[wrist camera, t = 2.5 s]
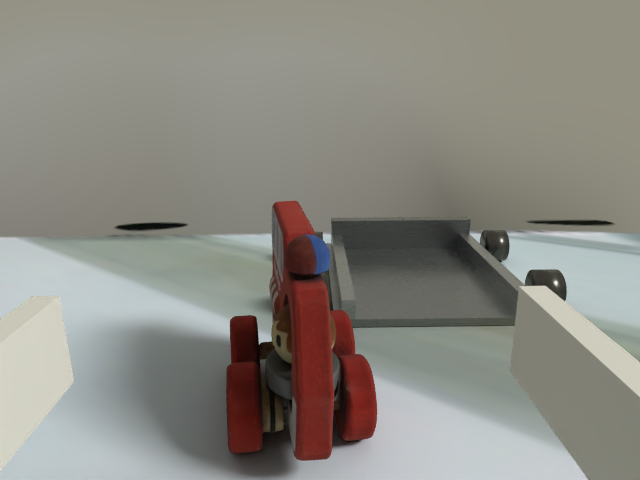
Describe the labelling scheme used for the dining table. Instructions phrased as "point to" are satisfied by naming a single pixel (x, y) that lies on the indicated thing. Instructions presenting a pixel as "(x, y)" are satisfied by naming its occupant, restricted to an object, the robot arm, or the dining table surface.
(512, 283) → the chassis bay
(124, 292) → the dining table surface
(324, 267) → the red plastic toy vehicle
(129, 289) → the dining table surface
